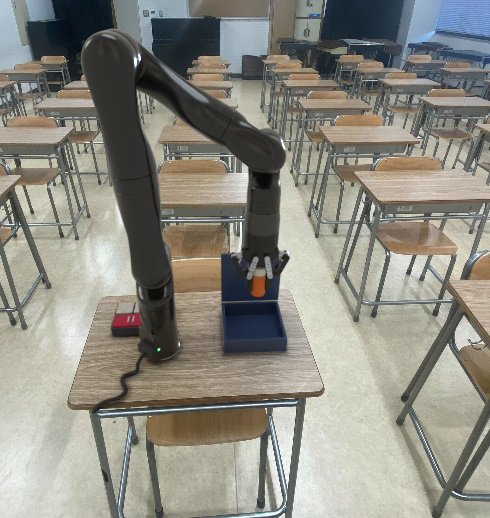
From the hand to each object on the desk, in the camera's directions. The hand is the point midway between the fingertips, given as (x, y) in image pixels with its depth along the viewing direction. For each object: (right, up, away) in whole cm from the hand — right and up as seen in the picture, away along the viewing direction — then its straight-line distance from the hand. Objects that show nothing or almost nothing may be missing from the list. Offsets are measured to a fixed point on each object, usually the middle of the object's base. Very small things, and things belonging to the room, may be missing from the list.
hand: (258, 288), depth 95 cm
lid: (0, +2, +15) cm, 16 cm away
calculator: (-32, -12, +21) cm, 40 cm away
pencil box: (0, -14, +17) cm, 22 cm away
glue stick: (0, -1, +1) cm, 1 cm away
